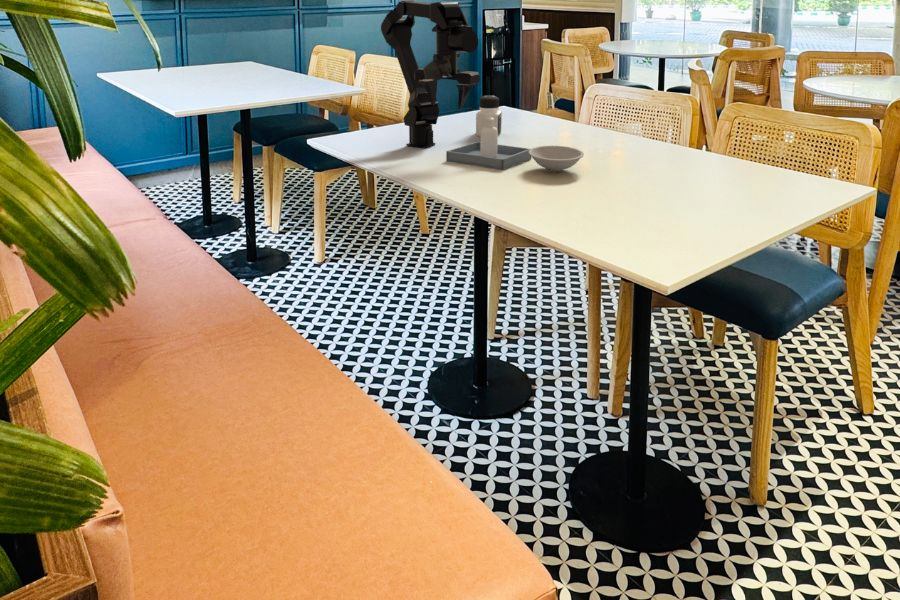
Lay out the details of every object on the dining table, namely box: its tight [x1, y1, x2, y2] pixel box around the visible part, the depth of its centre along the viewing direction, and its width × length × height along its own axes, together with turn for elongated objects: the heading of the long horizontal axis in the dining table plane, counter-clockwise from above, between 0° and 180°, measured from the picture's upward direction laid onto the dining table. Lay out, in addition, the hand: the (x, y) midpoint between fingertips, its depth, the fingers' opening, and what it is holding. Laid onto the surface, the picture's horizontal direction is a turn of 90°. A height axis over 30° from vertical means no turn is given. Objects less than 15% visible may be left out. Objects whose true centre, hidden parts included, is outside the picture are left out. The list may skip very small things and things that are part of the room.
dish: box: [529, 145, 585, 173], centre depth 218 cm, size 18×14×5 cm
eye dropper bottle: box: [479, 113, 499, 158], centre depth 228 cm, size 4×6×12 cm
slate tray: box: [445, 141, 533, 171], centre depth 230 cm, size 18×16×3 cm
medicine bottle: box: [475, 95, 503, 137], centre depth 261 cm, size 7×7×12 cm
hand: (446, 107), depth 234 cm, fingers open, 9 cm apart
